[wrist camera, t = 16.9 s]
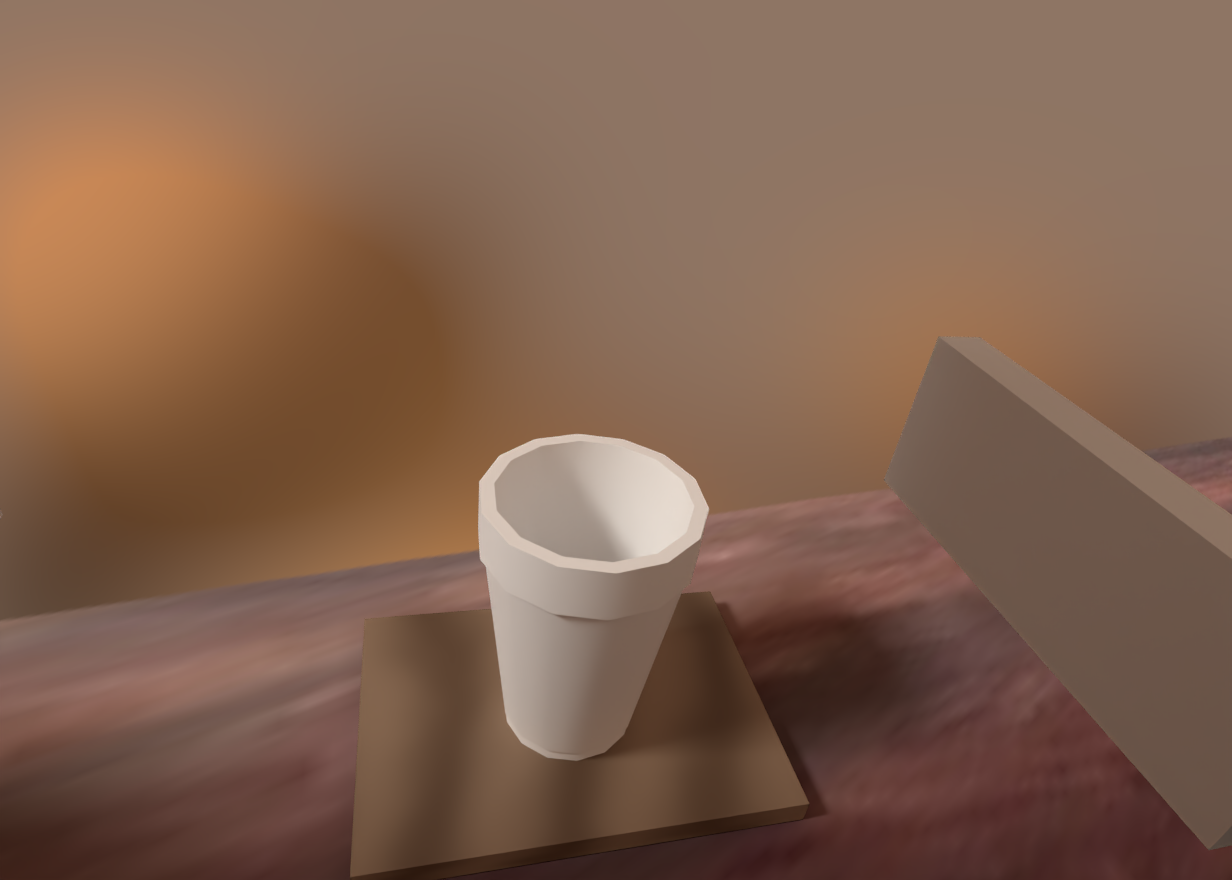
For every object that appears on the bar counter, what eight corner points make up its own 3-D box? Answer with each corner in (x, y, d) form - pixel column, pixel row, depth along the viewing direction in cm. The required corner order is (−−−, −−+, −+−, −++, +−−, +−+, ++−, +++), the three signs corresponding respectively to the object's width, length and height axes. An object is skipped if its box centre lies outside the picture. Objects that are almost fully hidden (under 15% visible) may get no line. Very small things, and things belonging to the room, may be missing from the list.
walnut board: (351, 893, 31) (349, 876, 30) (365, 634, 42) (364, 618, 42) (803, 819, 36) (809, 803, 35) (706, 605, 47) (710, 591, 47)
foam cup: (699, 733, 38) (755, 525, 31) (538, 829, 33) (563, 606, 26) (590, 612, 44) (616, 417, 37) (440, 677, 39) (439, 464, 32)
